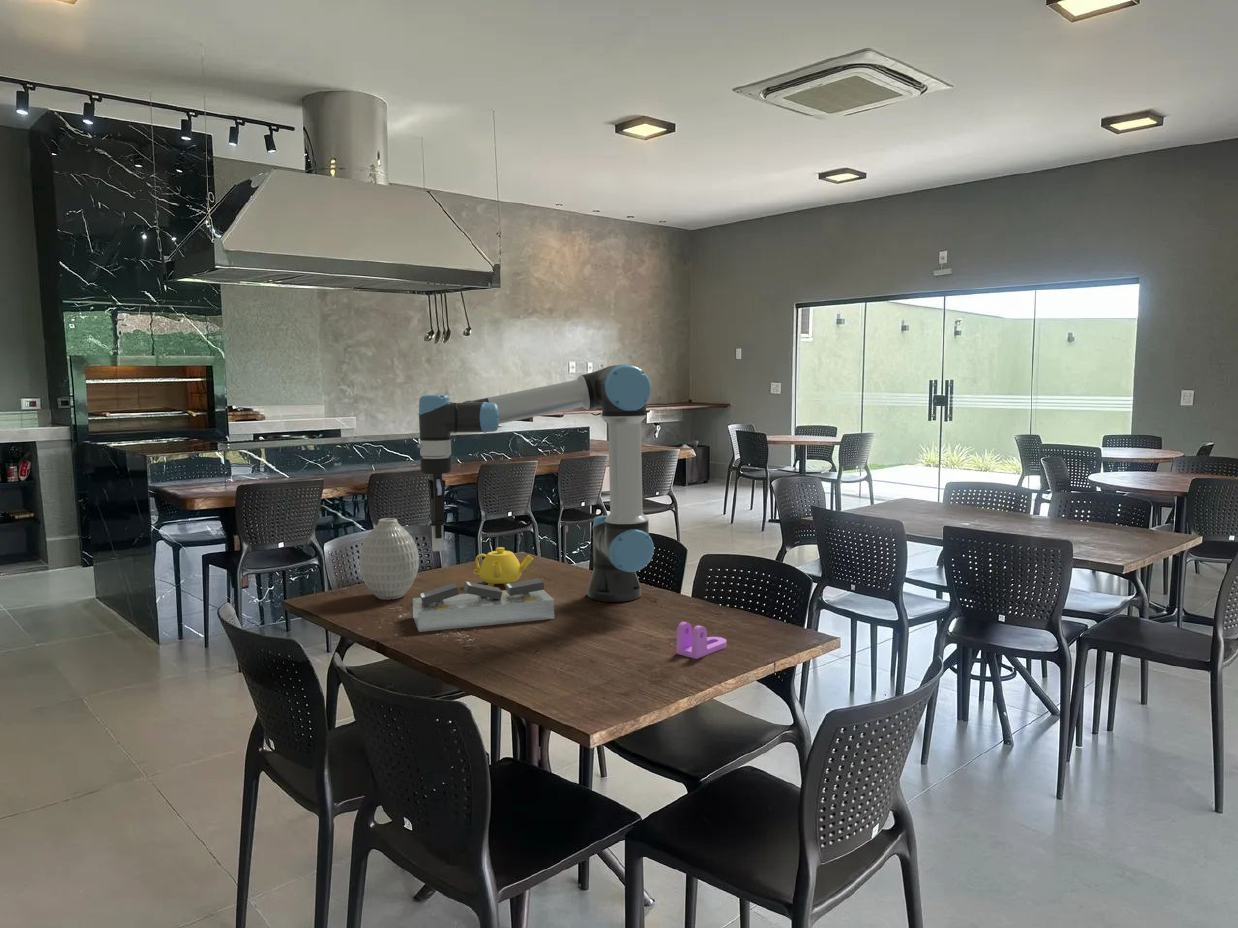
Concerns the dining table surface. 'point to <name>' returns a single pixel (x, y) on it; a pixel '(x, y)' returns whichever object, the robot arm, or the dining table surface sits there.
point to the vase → (389, 560)
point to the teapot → (500, 567)
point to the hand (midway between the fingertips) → (438, 550)
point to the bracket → (697, 641)
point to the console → (482, 610)
